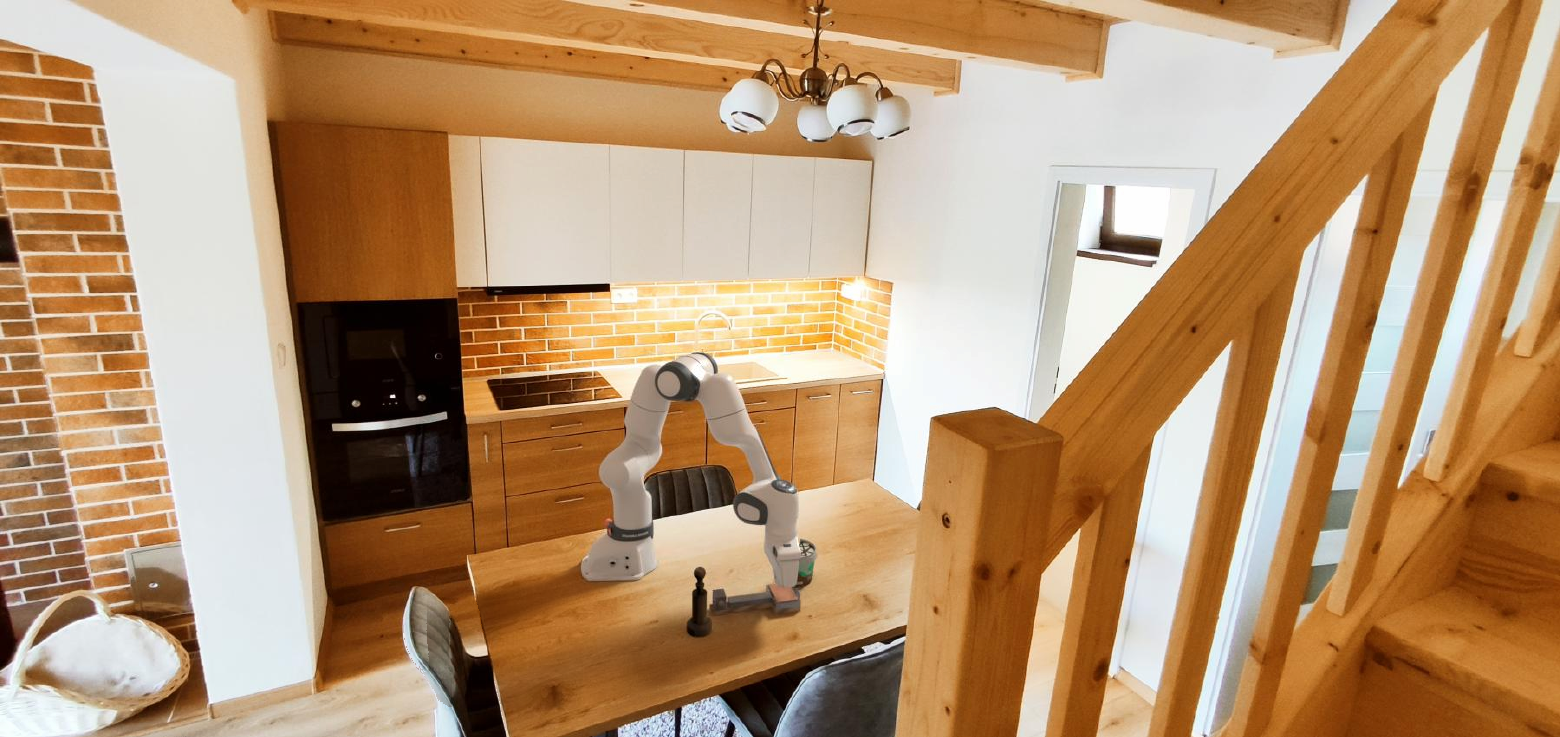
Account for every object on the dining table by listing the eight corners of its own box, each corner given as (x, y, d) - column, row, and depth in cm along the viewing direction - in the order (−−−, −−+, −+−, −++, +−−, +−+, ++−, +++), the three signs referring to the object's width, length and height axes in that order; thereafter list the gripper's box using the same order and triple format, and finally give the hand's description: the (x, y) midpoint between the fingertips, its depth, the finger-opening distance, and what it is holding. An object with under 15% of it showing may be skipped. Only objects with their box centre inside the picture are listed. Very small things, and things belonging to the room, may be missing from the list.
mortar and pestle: (699, 619, 196) (700, 558, 191) (717, 629, 192) (718, 567, 187) (681, 630, 191) (681, 568, 186) (699, 641, 187) (699, 577, 182)
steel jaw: (732, 615, 195) (732, 608, 195) (724, 594, 205) (724, 588, 204) (803, 605, 201) (804, 599, 201) (793, 586, 210) (793, 580, 210)
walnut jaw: (713, 623, 194) (714, 604, 193) (706, 602, 204) (706, 584, 202) (803, 610, 201) (804, 592, 200) (792, 591, 211) (793, 573, 209)
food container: (812, 592, 210) (814, 560, 208) (791, 589, 212) (792, 558, 209) (819, 570, 222) (820, 540, 220) (799, 567, 223) (800, 537, 221)
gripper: (759, 522, 208) (757, 565, 212) (780, 558, 189) (777, 605, 193) (781, 520, 210) (778, 563, 214) (803, 556, 191) (800, 603, 195)
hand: (778, 584), depth 203 cm, fingers closed
